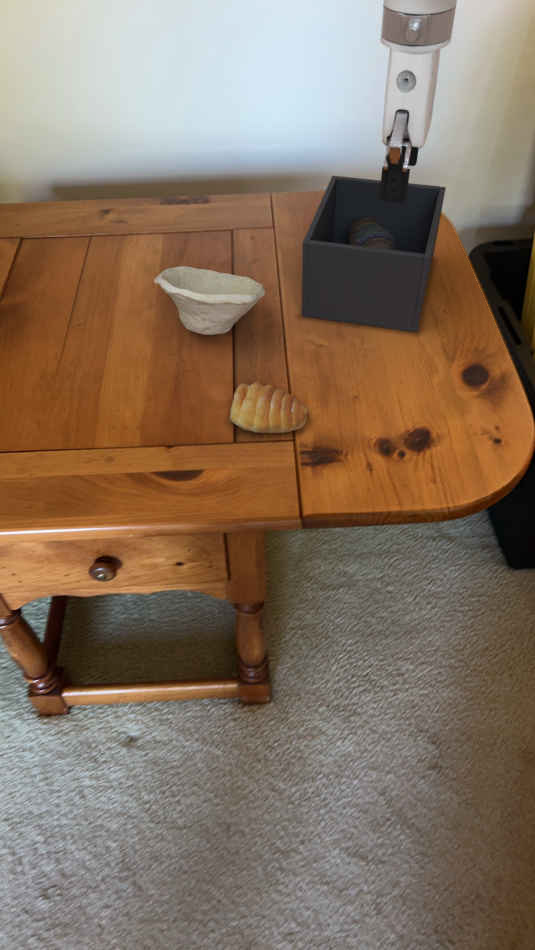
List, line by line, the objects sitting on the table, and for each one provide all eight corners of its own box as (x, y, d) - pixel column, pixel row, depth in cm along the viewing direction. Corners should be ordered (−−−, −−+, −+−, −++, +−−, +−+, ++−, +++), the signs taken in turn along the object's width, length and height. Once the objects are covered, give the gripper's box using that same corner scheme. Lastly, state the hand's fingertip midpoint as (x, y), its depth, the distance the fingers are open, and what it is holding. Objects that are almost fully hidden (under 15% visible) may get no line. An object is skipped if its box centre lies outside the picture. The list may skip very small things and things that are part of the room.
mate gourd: (372, 233, 92) (356, 195, 98) (341, 275, 97) (328, 237, 103) (411, 251, 95) (393, 214, 101) (380, 292, 100) (364, 254, 106)
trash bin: (432, 259, 103) (445, 186, 94) (417, 332, 92) (430, 257, 83) (329, 247, 107) (332, 175, 98) (301, 316, 95) (302, 242, 86)
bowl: (283, 311, 96) (282, 249, 89) (235, 369, 89) (230, 307, 81) (197, 285, 101) (188, 224, 93) (144, 338, 93) (130, 276, 86)
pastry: (312, 404, 84) (312, 382, 81) (301, 443, 80) (301, 421, 77) (240, 394, 85) (238, 371, 82) (226, 431, 81) (224, 409, 78)
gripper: (444, 55, 64) (419, 220, 77) (460, 0, 75) (436, 154, 88) (367, 51, 66) (356, 213, 79) (394, -2, 76) (380, 149, 89)
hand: (398, 182), depth 83 cm, fingers open, 9 cm apart
